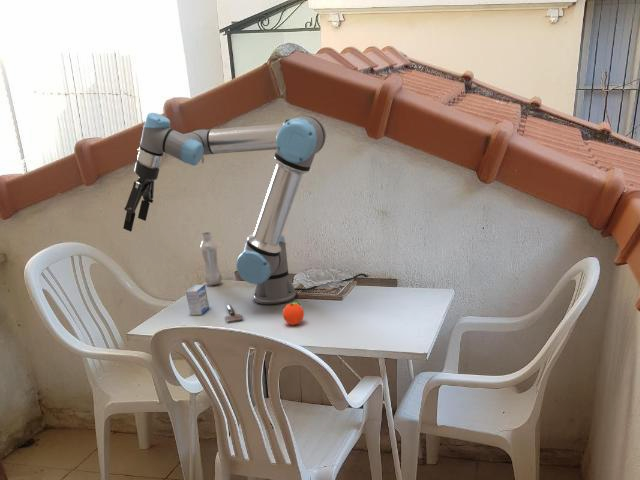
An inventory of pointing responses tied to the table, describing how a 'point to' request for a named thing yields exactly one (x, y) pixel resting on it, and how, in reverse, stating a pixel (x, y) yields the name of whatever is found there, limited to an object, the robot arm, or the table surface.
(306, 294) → the table surface
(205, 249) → the plastic bottle
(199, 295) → the medicine box
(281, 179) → the robot arm
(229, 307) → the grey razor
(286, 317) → the clementine
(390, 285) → the table surface
